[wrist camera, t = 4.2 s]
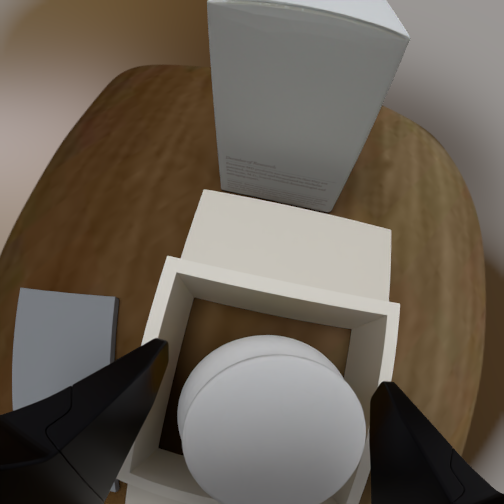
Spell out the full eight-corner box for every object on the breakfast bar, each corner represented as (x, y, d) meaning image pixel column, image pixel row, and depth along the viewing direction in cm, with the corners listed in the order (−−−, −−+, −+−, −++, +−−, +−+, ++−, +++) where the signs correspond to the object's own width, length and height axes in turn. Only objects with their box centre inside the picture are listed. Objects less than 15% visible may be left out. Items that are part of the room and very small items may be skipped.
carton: (310, 530, 10) (328, 568, 6) (138, 498, 11) (109, 529, 7) (367, 264, 17) (401, 232, 13) (203, 229, 17) (191, 187, 13)
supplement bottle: (283, 330, 15) (339, 280, 6) (322, 416, 13) (420, 469, 4) (189, 368, 14) (111, 370, 5) (230, 455, 13) (213, 559, 4)
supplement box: (331, 216, 18) (416, 39, 6) (218, 191, 18) (198, -3, 7) (338, 137, 21) (386, -7, 9) (245, 117, 21) (249, -34, 9)
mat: (119, 489, 11) (115, 492, 11) (22, 452, 11) (17, 453, 10) (119, 299, 16) (115, 297, 15) (25, 290, 15) (20, 287, 15)
